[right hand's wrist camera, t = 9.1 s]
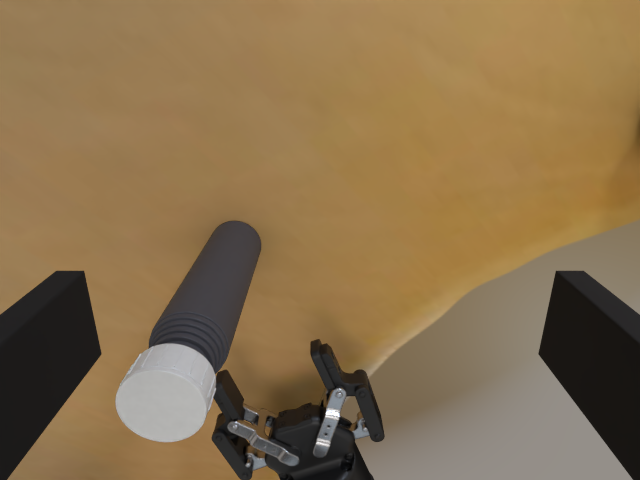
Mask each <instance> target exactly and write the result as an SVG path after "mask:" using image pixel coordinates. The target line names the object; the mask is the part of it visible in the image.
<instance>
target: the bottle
mask: <svg viewBox="0 0 640 480" xmlns="http://www.w3.org/2000/svg"><path fill="white" fill-rule="evenodd" d="M260 251H261V241H260V238H259V235H258V234H257V232H256V231H255V230H254V229H253V228H252V227H251V226H249V225H248V224H246V223H243V222H240V221H229V222H225V223H223V224H221V225H220V226H218V227H217V228H216V229H215V231H214V232H213V234H212V235H211V237H210V239H209V240H208V242H207V243H206V245H205V247H204V248H203V250H202V251H201V253H200V255H199V256H198V258H197V259H196V261H195V263H194V264H193V266H192V267H191V269H190V271H189V272H188V274H187V275H186V277H185V279H184V280H183V282H182V283H181V285H180V287H179V288H178V290H177V291H176V293H175V294H174V296H173V298H172V299H171V301H170V302H169V304H168V306H167V307H166V309H165V310H164V312H163V314H162V315H161V317H160V318H159V320H158V322H157V323H156V325H155V326H154V328H153V330H152V333H151V336H150V339H149V348H151V347H152V346H156V345H160V344H180V345H184V346H187V347H190V348H192V349H194V350H196V351H197V352H199V353H200V354H202V355H203V356H204V357H205V358H206V359H207V360H208V361H209V363H210V364H211V366H212V368H213V370H214V372H215V374H216V373H217V372H218V371H219V370H220V369H221V367H222V366H223V364H224V362H225V361H226V359H227V356H228V353H229V350H230V347H231V344H232V340H233V337H234V334H235V331H236V328H237V324H238V321H239V318H240V315H241V312H242V309H243V305H244V302H245V299H246V296H247V293H248V289H249V286H250V283H251V280H252V277H253V273H254V270H255V267H256V264H257V261H258V257H259V254H260Z"/></svg>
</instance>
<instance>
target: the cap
mask: <svg viewBox="0 0 640 480" xmlns="http://www.w3.org/2000/svg"><path fill="white" fill-rule="evenodd" d="M215 386H216V375H215V372H214V370H213V368H212V366H211V364H210V363H209V361H208V360H207V359H206V358H205V357H204V356H203V355H202V354H200V353H199V352H197V351H196V350H194V349H192V348H190V347H187V346H184V345H180V344H160V345H156V346H152V347H151V348H149V349H147V350H145V351H144V352H143V353H142V354H141V353H140V354H139V356H138V358H137V359H136V361H135V362H134V364H132V366H131V368H130V369H129V371H128V372H127V374H126V376H125V377H124V379H123V380H122V382H121V384H120V387H119V389H118V391H117V394H116V400H115V401H116V409H117V412H118V415H119V417H120V418H121V420H122V421H123V423H124V424H125V425H126V426H127V427H128V428H129V429H130V430H132V431H133V432H134V433H136V434H138V435H140V436H141V437H144V438H146V439H149V440H153V441H158V442H175V441H180V440H183V439H186V438H188V437H190V436H192V435H193V434H195V433H196V432H197V431H198V430H199V429H200V428H201V426H202V425H203V423H204V421H205V419H206V415H207V412H208V411H209V410H210V407H211V404H212V400H213V397H214V394H215V391H216V388H215Z"/></svg>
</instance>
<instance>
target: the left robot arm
mask: <svg viewBox="0 0 640 480" xmlns="http://www.w3.org/2000/svg"><path fill="white" fill-rule="evenodd" d="M310 352H311V357H312V360H313V362H314V364H315V366H316V368H317V370H318V372H319V374H320V376H321V379H322V381H323V383H324V385H325V387H326V388H325V389H324V392H323V395H322V398H321V400H320V403H319V405H312V403H308V404H305V405H302V406H301V407H299V408H297V409H293V410H285V411H282V412H279V415H277V414H274V413H272V412H270V411H268V410H266V409H263V408H262V409H260V410H257V409H255V408H252V407H250V406H248V405H246V404H244V403H243V401H244V398H243V397H242V395H241V393H240V391H239V390H238V388H237V386H236V384H235V383H234V381H233V379H232V377H231V376H230V374H229V372H228V371H227V370H223V371H220V372H218V373H217V376H216V386H215V388H216V391H215V394H214V397H213V398H214V399H215V401H216V403H217V404H218V406H219V408H220V409H221V411H222V413H221V414H219V415H218V417H217V422H216V426H215V430H214V432H213V435H212V441H213V442H214V444H215V445H216V446H217V448H218V449H219V450H220V452H221V453H222V455H223V456H224V457H225V459H226V460H227V462H228V463H229V464H230V466H231V467H232V468H233V470H234V471H235V473H236V474H237V475H238V477H239V478H240V479H241V480H250V479H251V477H252V472H253V471H254V470H256V469H259V468H262V467H265V466H268V467H269V468H271V469H273V470H274V471H275V472H277V473H278V475H279V477H280V480H374V479H373V476H372V475H371V474H370V473H369V471H368V469H367V466H366V464H365V462H364V460H363V458H362V456H361V454H360V452H359V450H358V447H357V445H356V443H355V439H358V438H362V437H366V436H370V438H371V439H372V440H373V441H375V442H380V441H382V440H383V439H384V430H383V425H382V419H381V414H380V411H379V408H378V405H377V402H376V400H375V397H374V394H373V391H372V388H371V385H370V382H369V379H368V377H367V374H366V372H365V371H364V370H356V371H355V372H354V373H351V374H349V373H345V372H343V371H342V370H341V368H340V366H339V364H338V362H337V359H336V357H335V355H334V353H333V351H332V348H331V347H330V346H329V345H328V344H327V343H326V344H323V345H322V344H321V341H320V340H319V339H317V340H314V341H311V350H310ZM346 396H355V397H356V399H357V402H358V405H359V408H360V412H359V413H358V414H357V421H356V422H355V423H353V424H352V423H351V422H350V421H349V420H347V419H345V418H343V417H341V416H340V411H341V408H342V406H343V403H344V400H345V398H346ZM244 420H246V421H248V422H250V423H252V425H251V424H249V423H247V422H244ZM265 425H266V426H268V427H270V428H271V430H270V434H269V437H268V436H267V435H266V434H265ZM246 439H247V440H249V442H250V443H248V441H247V440H246ZM256 448H257V449H256ZM258 449H259V450H258ZM260 450H261V451H260Z"/></svg>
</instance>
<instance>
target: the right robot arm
mask: <svg viewBox="0 0 640 480" xmlns="http://www.w3.org/2000/svg"><path fill="white" fill-rule="evenodd" d="M100 355H101V349H100V345H99V340H98V335H97V330H96V326H95V321H94V316H93V311H92V307H91V302H90V297H89V292H88V288H87V283H86V278H85V273H84V271H56V272H54V273H53V274H52V275H51V276H49V277H48V278H47V279H45V280H44V281H43V282H42V283H40V284H39V285H38V286H37V287H35V288H34V289H33V290H31V291H30V292H29V293H28V294H26V295H25V296H24V297H22V298H21V299H20V300H19V301H17V302H16V303H15V304H14V305H12V306H11V307H10V308H8V309H7V310H6V311H5V312H3V313H2V314H1V315H0V480H7V479H8V477H9V476H10V475H11V473H12V472H13V471H14V469H15V468H16V467H17V466H18V464H19V463H20V462H21V460H22V459H23V458H24V456H25V455H26V454H27V452H28V451H29V450H30V448H31V447H32V446H33V444H34V443H35V442H36V440H37V439H38V438H39V436H40V435H41V434H42V432H43V431H44V430H45V428H46V427H47V426H48V424H49V423H50V422H51V420H52V419H53V418H54V416H55V415H56V414H57V412H58V411H59V410H60V408H61V407H62V406H63V404H64V403H65V402H66V401H67V399H68V398H69V397H70V395H71V394H72V393H73V391H74V390H75V389H76V387H77V386H78V385H79V383H80V382H81V381H82V379H83V378H84V377H85V375H86V374H87V373H88V371H89V370H90V369H91V367H92V366H93V365H94V363H95V362H96V361H97V359H98V358H99V357H100ZM539 355H540V357H541V358H542V359H543V361H544V362H545V363H546V365H547V366H548V367H549V369H550V370H551V371H552V373H553V374H554V375H555V377H556V378H557V379H558V381H559V382H560V383H561V385H562V386H563V387H564V389H565V390H566V391H567V393H568V394H569V395H570V396H571V398H572V399H573V401H574V402H575V403H576V404H577V406H578V407H579V408H580V410H581V411H582V412H583V414H584V415H585V416H586V418H587V419H588V420H589V422H590V423H591V424H592V426H593V427H594V428H595V430H596V431H597V432H598V434H599V435H600V436H601V438H602V439H603V440H604V442H605V443H606V444H607V446H608V447H609V448H610V450H611V451H612V452H613V454H614V455H615V456H616V458H617V459H618V460H619V462H620V463H621V464H622V466H623V467H624V468H625V469H626V471H627V472H628V473H629V475H630V476H631V477H632V479H633V480H640V315H639V314H638V313H637V312H635V311H634V310H633V309H632V308H630V307H629V306H628V305H626V304H625V303H624V302H623V301H621V300H620V299H619V298H617V297H616V296H615V295H614V294H612V293H611V292H610V291H609V290H607V289H606V288H605V287H603V286H602V285H601V284H600V283H598V282H597V281H596V280H595V279H593V278H592V277H591V276H589V275H588V274H587V273H586V272H584V271H556V274H555V278H554V283H553V288H552V292H551V297H550V302H549V307H548V311H547V316H546V321H545V326H544V330H543V335H542V340H541V345H540V349H539Z"/></svg>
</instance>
